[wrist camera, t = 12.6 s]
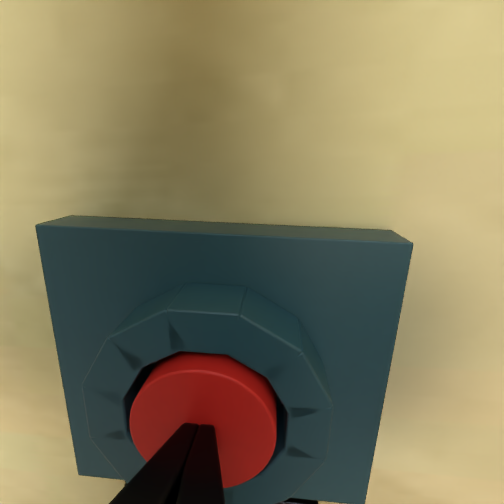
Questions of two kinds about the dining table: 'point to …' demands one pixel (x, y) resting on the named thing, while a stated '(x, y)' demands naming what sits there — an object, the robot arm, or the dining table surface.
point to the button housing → (230, 335)
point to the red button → (209, 410)
